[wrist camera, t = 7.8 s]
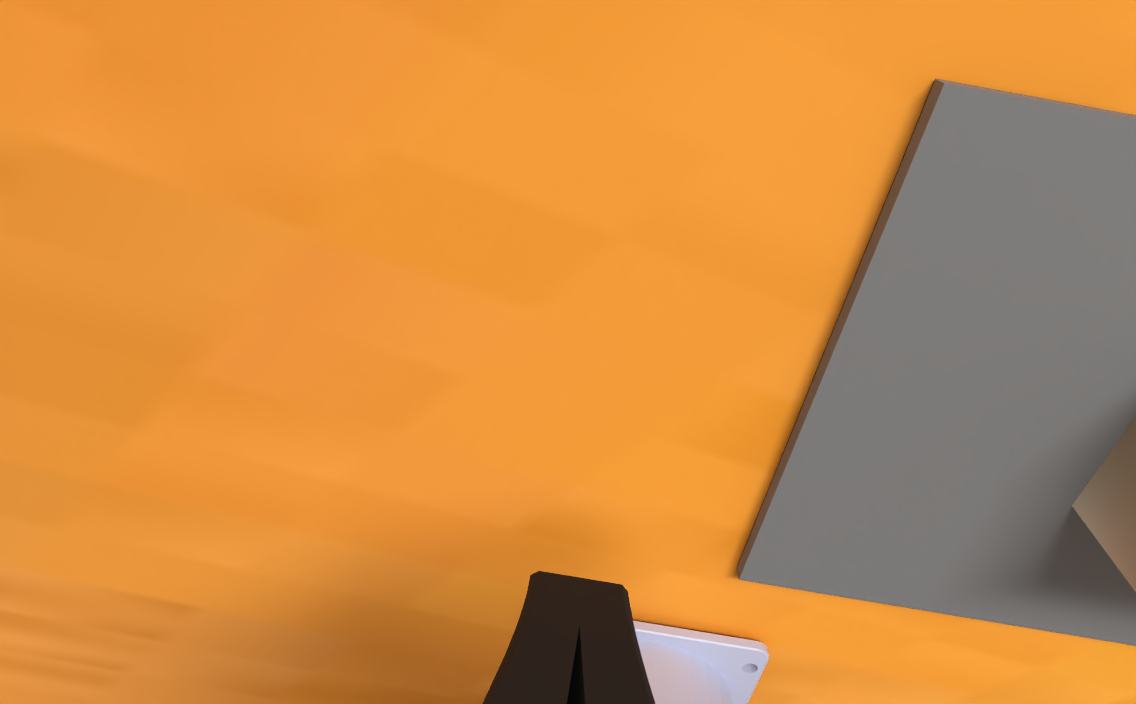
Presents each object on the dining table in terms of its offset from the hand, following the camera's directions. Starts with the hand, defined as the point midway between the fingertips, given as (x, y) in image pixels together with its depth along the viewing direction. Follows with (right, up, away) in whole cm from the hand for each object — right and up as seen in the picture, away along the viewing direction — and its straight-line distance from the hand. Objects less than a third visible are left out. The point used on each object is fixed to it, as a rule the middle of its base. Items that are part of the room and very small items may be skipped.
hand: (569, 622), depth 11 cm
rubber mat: (+15, +2, +9) cm, 18 cm away
